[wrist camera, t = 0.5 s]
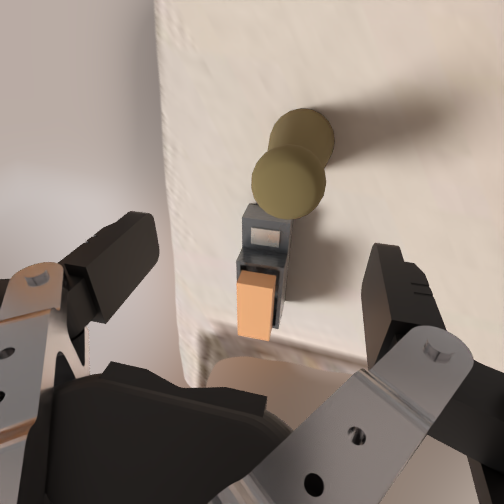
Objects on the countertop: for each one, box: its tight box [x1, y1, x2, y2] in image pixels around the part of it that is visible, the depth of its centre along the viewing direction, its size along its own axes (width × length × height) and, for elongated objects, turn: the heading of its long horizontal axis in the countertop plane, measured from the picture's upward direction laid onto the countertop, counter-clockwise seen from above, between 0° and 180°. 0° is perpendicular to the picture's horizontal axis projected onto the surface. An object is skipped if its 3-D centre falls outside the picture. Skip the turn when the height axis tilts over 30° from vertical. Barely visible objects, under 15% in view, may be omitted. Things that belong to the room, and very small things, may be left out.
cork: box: [251, 109, 335, 220], centre depth 25 cm, size 6×6×11 cm
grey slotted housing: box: [236, 204, 293, 329], centre depth 36 cm, size 14×5×6 cm, turn 0°
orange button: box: [237, 270, 276, 341], centre depth 33 cm, size 8×4×2 cm, turn 0°
